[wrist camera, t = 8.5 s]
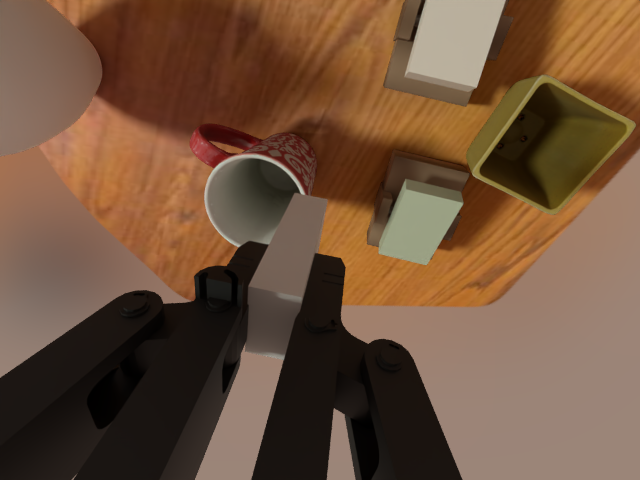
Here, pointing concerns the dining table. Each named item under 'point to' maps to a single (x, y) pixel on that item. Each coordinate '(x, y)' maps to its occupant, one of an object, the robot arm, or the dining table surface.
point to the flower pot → (545, 142)
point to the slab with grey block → (416, 170)
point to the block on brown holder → (404, 47)
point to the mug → (252, 180)
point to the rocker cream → (453, 42)
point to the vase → (42, 74)
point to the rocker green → (419, 221)
